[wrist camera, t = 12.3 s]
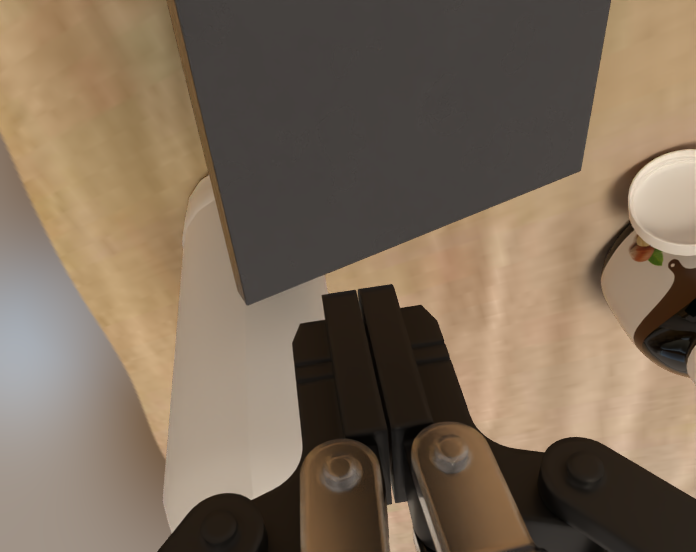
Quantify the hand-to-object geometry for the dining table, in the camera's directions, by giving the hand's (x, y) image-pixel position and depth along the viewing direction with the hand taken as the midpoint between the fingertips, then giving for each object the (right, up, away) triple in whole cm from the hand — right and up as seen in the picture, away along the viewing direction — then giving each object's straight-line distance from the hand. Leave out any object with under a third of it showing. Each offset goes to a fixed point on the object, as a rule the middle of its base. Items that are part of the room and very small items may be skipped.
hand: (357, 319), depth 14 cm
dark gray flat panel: (+2, +8, +9) cm, 13 cm away
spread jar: (+21, +5, +32) cm, 39 cm away
